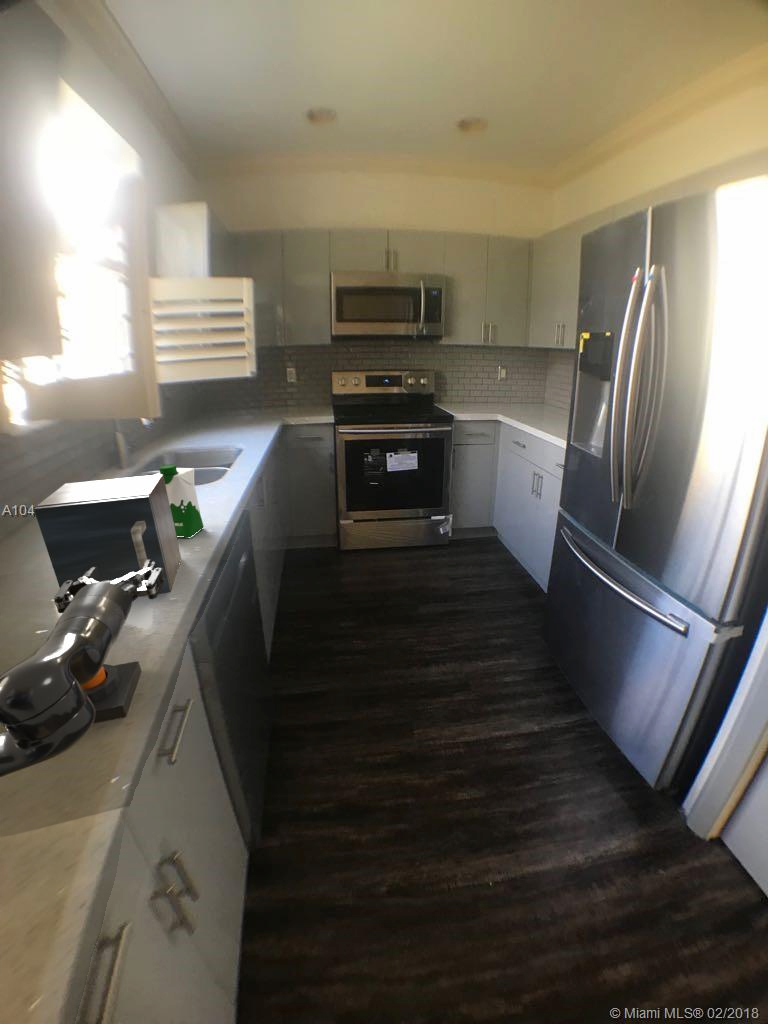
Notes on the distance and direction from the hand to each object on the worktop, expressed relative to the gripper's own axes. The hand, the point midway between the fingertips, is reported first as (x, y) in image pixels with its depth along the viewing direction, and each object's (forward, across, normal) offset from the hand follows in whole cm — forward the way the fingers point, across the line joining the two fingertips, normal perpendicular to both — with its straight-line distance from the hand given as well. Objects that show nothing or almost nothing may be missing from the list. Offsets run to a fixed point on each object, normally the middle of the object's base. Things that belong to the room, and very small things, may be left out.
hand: (123, 568), depth 78 cm
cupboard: (+25, -8, -14) cm, 29 cm away
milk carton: (+50, +1, -14) cm, 52 cm away
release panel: (-15, -3, -14) cm, 21 cm away
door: (+14, -8, -14) cm, 21 cm away
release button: (-15, -3, -11) cm, 19 cm away
